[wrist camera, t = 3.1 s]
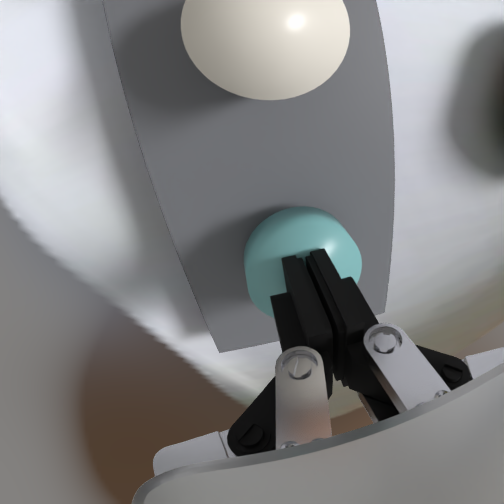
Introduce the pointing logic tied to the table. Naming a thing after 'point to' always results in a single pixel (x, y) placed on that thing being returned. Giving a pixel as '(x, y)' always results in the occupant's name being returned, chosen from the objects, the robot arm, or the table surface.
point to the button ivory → (266, 44)
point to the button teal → (295, 250)
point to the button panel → (257, 157)
